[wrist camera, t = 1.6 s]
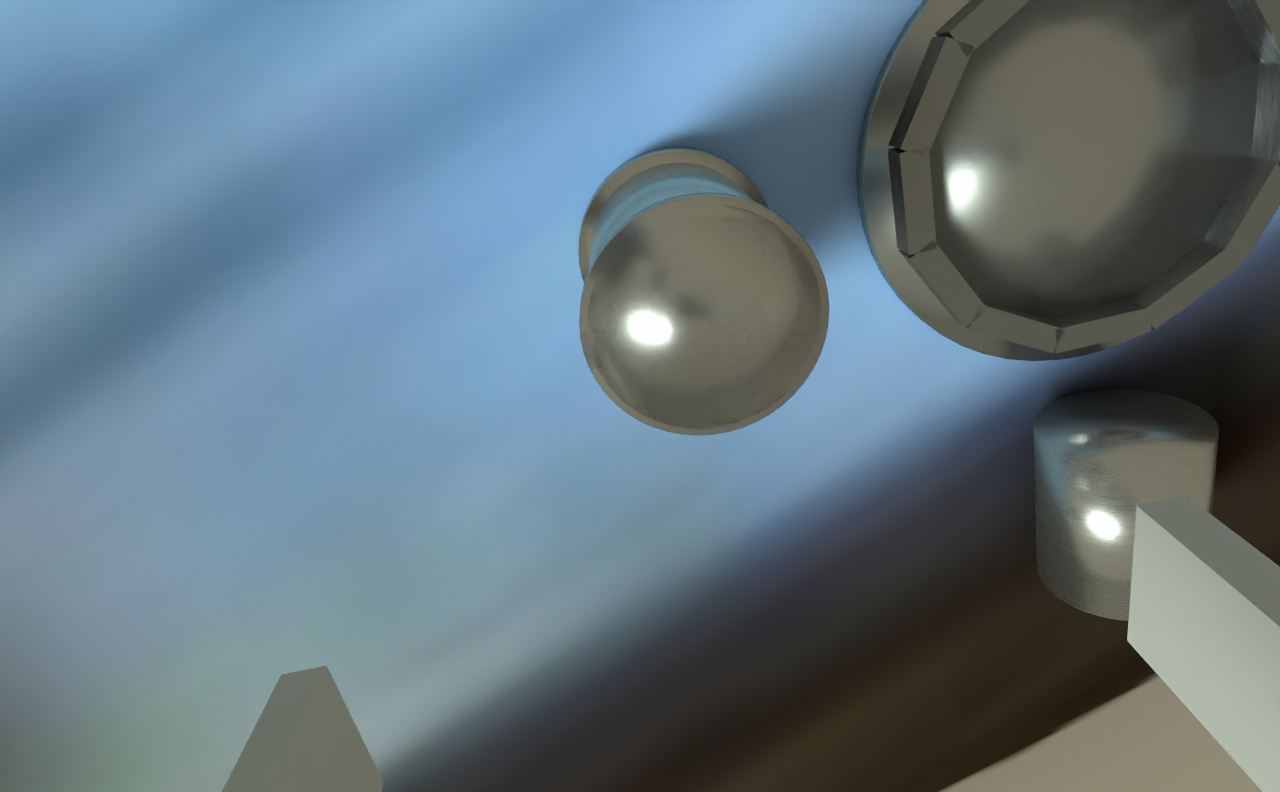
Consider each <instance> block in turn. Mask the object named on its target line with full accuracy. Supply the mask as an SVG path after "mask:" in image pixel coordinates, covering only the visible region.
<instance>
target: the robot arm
mask: <svg viewBox="0 0 1280 792" xmlns="http://www.w3.org/2000/svg"><path fill="white" fill-rule="evenodd" d="M1127 641H1128V642H1129V643H1130V644H1131V645H1132V646H1133V647H1134V649H1135V650H1136V651H1137V652H1138V653H1139V654H1140V655H1141V656H1142V657H1143V659H1144V660H1145V661H1146V662H1147V663H1148V664H1149V665H1150V666H1151V668H1152V669H1153V670H1154V671H1155V672H1156V673H1157V674H1158V675H1159V676H1160V678H1161V679H1162V680H1163V681H1164V682H1165V683H1166V684H1167V685H1168V687H1169V688H1170V689H1171V690H1172V691H1173V692H1174V693H1175V694H1176V695H1177V697H1178V698H1179V699H1180V700H1181V701H1182V702H1183V703H1184V704H1185V705H1186V707H1187V708H1188V709H1189V710H1190V711H1191V712H1192V713H1193V714H1194V715H1195V717H1196V718H1197V719H1198V720H1199V721H1200V722H1201V723H1202V724H1203V726H1204V727H1205V728H1206V729H1207V730H1208V731H1209V732H1210V733H1211V734H1212V736H1213V737H1214V738H1215V739H1216V740H1217V741H1218V742H1219V743H1220V744H1221V746H1222V747H1223V748H1224V749H1225V750H1226V751H1227V752H1228V754H1229V755H1230V756H1231V757H1232V758H1233V759H1234V760H1235V761H1236V762H1237V763H1238V765H1239V766H1240V767H1241V768H1242V769H1243V770H1244V771H1245V773H1246V774H1247V775H1248V776H1249V777H1250V778H1251V779H1252V780H1253V781H1254V783H1255V784H1256V785H1257V786H1258V787H1259V788H1260V789H1261V790H1262V791H1263V792H1280V567H1279V566H1278V565H1276V564H1275V563H1274V562H1273V561H1271V560H1270V559H1269V558H1267V557H1266V556H1265V555H1263V554H1262V553H1261V552H1259V551H1258V550H1257V549H1255V548H1254V547H1253V546H1251V545H1250V544H1249V543H1248V542H1246V541H1245V540H1244V539H1242V538H1241V537H1240V536H1238V535H1237V534H1236V533H1234V532H1233V531H1232V530H1230V529H1229V528H1228V527H1226V526H1225V525H1224V524H1222V523H1221V522H1220V521H1219V520H1217V519H1216V518H1215V517H1213V516H1212V515H1211V514H1209V513H1208V512H1207V511H1205V510H1204V509H1203V508H1201V507H1200V506H1199V505H1197V504H1196V503H1195V502H1194V501H1192V500H1191V499H1190V498H1188V497H1187V496H1182V497H1177V498H1172V499H1167V500H1162V501H1157V502H1152V503H1147V504H1142V505H1137V507H1136V521H1135V536H1134V550H1133V565H1132V579H1131V594H1130V608H1129V623H1128V637H1127ZM383 783H384V782H383V780H382V778H381V776H380V774H379V772H378V770H377V768H376V766H375V764H374V762H373V760H372V758H371V756H370V754H369V752H368V750H367V748H366V746H365V743H364V741H363V739H362V737H361V735H360V733H359V731H358V729H357V727H356V725H355V723H354V721H353V719H352V717H351V715H350V713H349V711H348V709H347V707H346V705H345V702H344V700H343V698H342V696H341V694H340V692H339V690H338V688H337V686H336V684H335V682H334V680H333V678H332V676H331V674H330V672H329V670H328V668H327V666H323V667H318V668H313V669H308V670H303V671H298V672H293V673H288V674H283V675H281V677H280V678H279V680H278V682H277V684H276V686H275V688H274V690H273V692H272V694H271V696H270V698H269V700H268V702H267V704H266V706H265V708H264V710H263V712H262V714H261V716H260V718H259V720H258V722H257V724H256V726H255V728H254V730H253V732H252V734H251V736H250V738H249V740H248V741H247V743H246V745H245V747H244V749H243V751H242V753H241V755H240V757H239V759H238V761H237V763H236V765H235V767H234V769H233V771H232V773H231V775H230V777H229V779H228V781H227V783H226V785H225V787H224V789H223V791H222V792H381V790H382V786H383Z"/></svg>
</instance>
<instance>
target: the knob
mask: <svg viewBox="0 0 1280 792" xmlns="http://www.w3.org/2000/svg"><path fill="white" fill-rule="evenodd" d="M579 263H580V269H581V274H582V278H583V281H584V287H583V292H582V296H581V305H580V320H579V324H580V338H581V342H582V347H583V352H584V355H585V358H586V360H587V363H588V366H589V368H590V370H591V372H592V374H593V376H594V378H595V380H596V381H597V383H598V384H599V385H600V387H601V388H602V390H603V391H604V392H605V393H606V395H607V396H608V397H609V398H610V399H611V400H612V401H613V402H614V403H615V404H616V405H617V406H619V407H620V408H621V409H622V410H623V411H625V412H626V413H627V414H629V415H631V416H632V417H634V418H635V419H637V420H639V421H641V422H643V423H645V424H647V425H649V426H652V427H654V428H657V429H660V430H664V431H667V432H672V433H677V434H684V435H713V434H719V433H725V432H729V431H733V430H736V429H740V428H743V427H745V426H748V425H750V424H752V423H755V422H757V421H759V420H761V419H762V418H764V417H766V416H768V415H769V414H771V413H772V412H774V411H775V410H776V409H778V408H779V407H781V406H782V405H783V404H784V403H785V402H787V401H788V400H789V399H790V398H791V397H792V396H793V395H794V394H795V393H796V392H797V391H798V389H799V388H800V387H801V386H802V385H803V383H804V382H805V381H806V379H807V378H808V376H809V375H810V373H811V372H812V370H813V368H814V366H815V364H816V362H817V360H818V358H819V356H820V354H821V351H822V348H823V345H824V342H825V338H826V334H827V329H828V321H829V299H828V291H827V286H826V281H825V278H824V275H823V272H822V269H821V267H820V264H819V262H818V260H817V258H816V256H815V255H814V253H813V251H812V249H811V248H810V247H809V245H808V244H807V242H806V241H805V240H804V238H803V237H802V236H801V235H800V234H799V233H798V232H797V231H796V230H795V229H794V228H793V227H792V226H791V225H790V224H789V223H788V222H787V221H786V220H784V219H783V218H782V217H780V216H779V215H778V214H776V213H775V212H774V211H772V210H770V209H768V207H767V205H766V203H765V201H764V199H763V198H762V196H761V194H760V193H759V191H758V190H757V189H756V187H755V186H754V185H753V183H752V182H751V181H750V180H749V179H748V178H747V177H746V176H745V175H744V174H743V173H741V172H740V171H739V170H738V169H737V168H735V167H734V166H733V165H731V164H730V163H729V162H727V161H725V160H723V159H722V158H720V157H718V156H716V155H713V154H710V153H708V152H705V151H701V150H697V149H692V148H682V147H676V148H663V149H658V150H653V151H650V152H647V153H644V154H641V155H639V156H637V157H635V158H633V159H631V160H629V161H627V162H626V163H624V164H623V165H621V166H620V167H618V168H617V169H616V170H615V171H614V172H612V173H611V174H610V175H609V176H608V177H607V178H606V179H605V180H604V181H603V183H602V184H601V185H600V186H599V188H598V189H597V191H596V192H595V194H594V195H593V196H592V198H591V200H590V203H589V205H588V207H587V209H586V212H585V215H584V218H583V221H582V226H581V231H580V239H579Z"/></svg>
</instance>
